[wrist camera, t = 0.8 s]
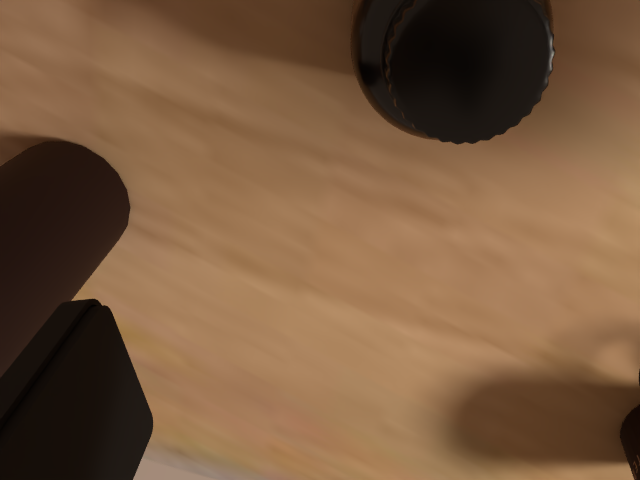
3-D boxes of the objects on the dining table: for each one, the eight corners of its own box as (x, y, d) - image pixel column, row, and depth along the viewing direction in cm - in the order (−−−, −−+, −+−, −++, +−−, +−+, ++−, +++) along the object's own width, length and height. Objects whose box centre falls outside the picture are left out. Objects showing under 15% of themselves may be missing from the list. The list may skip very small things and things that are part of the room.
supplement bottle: (465, 105, 29) (524, 207, 18) (333, 64, 28) (317, 144, 18) (526, -42, 26) (641, -21, 15) (380, -91, 25) (393, -106, 15)
